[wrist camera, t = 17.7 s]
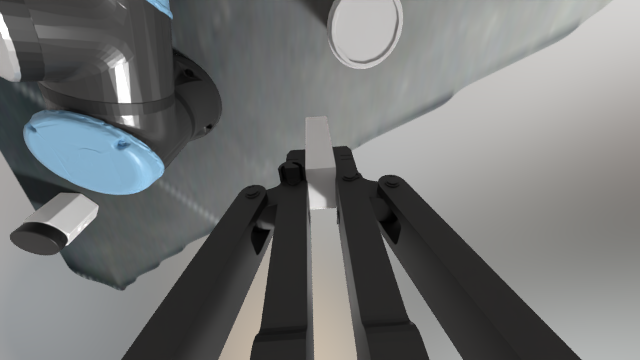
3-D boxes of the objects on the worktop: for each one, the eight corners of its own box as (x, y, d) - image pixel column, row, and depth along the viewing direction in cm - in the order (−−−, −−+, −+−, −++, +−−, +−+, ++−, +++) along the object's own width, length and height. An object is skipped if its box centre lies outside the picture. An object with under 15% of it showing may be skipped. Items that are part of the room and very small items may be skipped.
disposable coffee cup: (314, -3, 35) (317, -5, 26) (376, -27, 34) (403, -38, 25) (330, 63, 41) (338, 80, 32) (384, 44, 40) (408, 57, 30)
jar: (96, 221, 61) (58, 260, 52) (58, 208, 58) (9, 248, 49) (101, 200, 57) (60, 239, 48) (60, 185, 54) (8, 224, 44)
